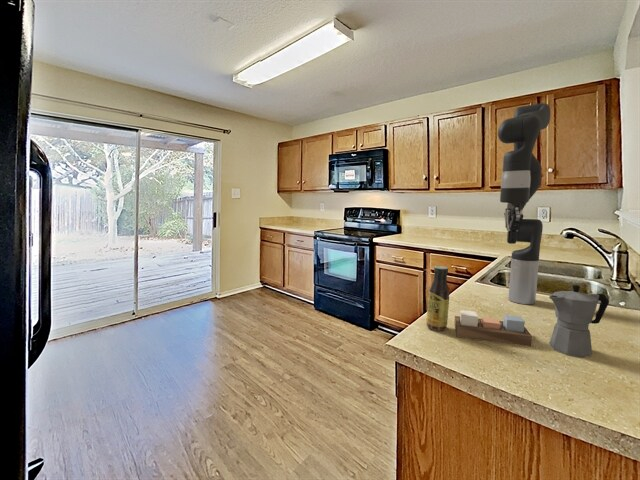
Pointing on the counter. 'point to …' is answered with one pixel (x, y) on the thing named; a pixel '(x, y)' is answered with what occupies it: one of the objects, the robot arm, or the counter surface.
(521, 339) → the brown button board
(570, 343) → the coffeepot
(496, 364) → the counter surface
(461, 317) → the cream button
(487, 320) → the terracotta button
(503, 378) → the counter surface
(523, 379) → the counter surface
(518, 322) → the slate button
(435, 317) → the sauce bottle
